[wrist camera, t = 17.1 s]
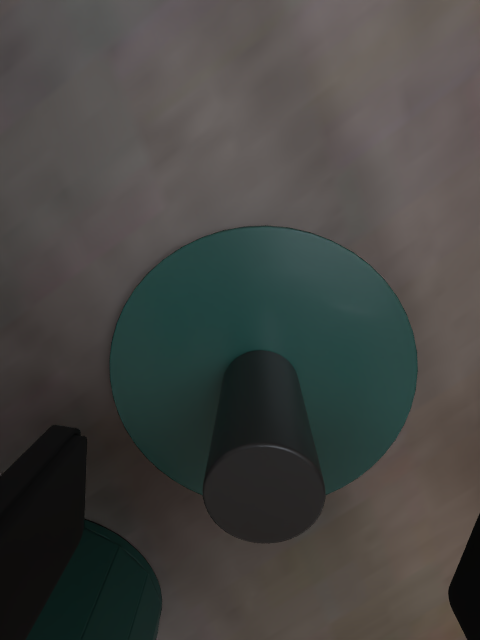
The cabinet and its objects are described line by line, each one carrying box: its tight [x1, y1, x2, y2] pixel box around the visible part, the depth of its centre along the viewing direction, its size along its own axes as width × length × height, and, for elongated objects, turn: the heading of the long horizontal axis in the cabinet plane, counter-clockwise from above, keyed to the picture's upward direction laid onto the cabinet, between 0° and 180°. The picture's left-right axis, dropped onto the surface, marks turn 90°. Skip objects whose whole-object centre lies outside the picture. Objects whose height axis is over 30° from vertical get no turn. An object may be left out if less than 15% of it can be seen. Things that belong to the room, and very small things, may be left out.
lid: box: [110, 226, 418, 543], centre depth 11 cm, size 11×11×7 cm
